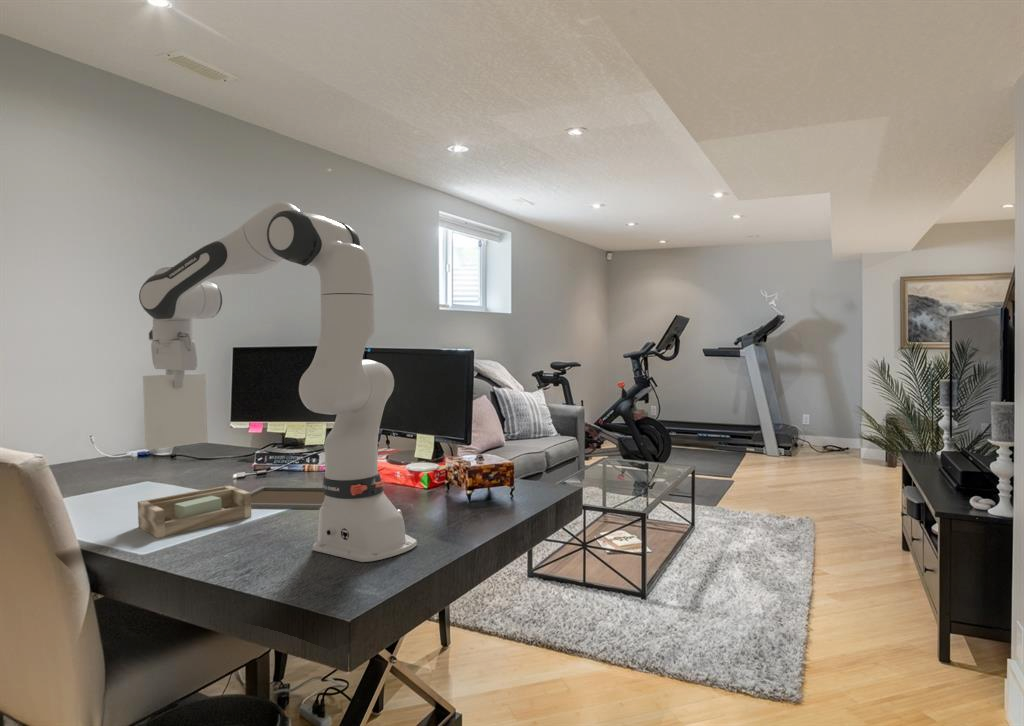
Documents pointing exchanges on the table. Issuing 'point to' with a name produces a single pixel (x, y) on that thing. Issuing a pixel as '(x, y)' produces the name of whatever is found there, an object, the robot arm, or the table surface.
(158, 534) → the rack
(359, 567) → the table surface
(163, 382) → the off-white rectangular board
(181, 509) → the offcut top
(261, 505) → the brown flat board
